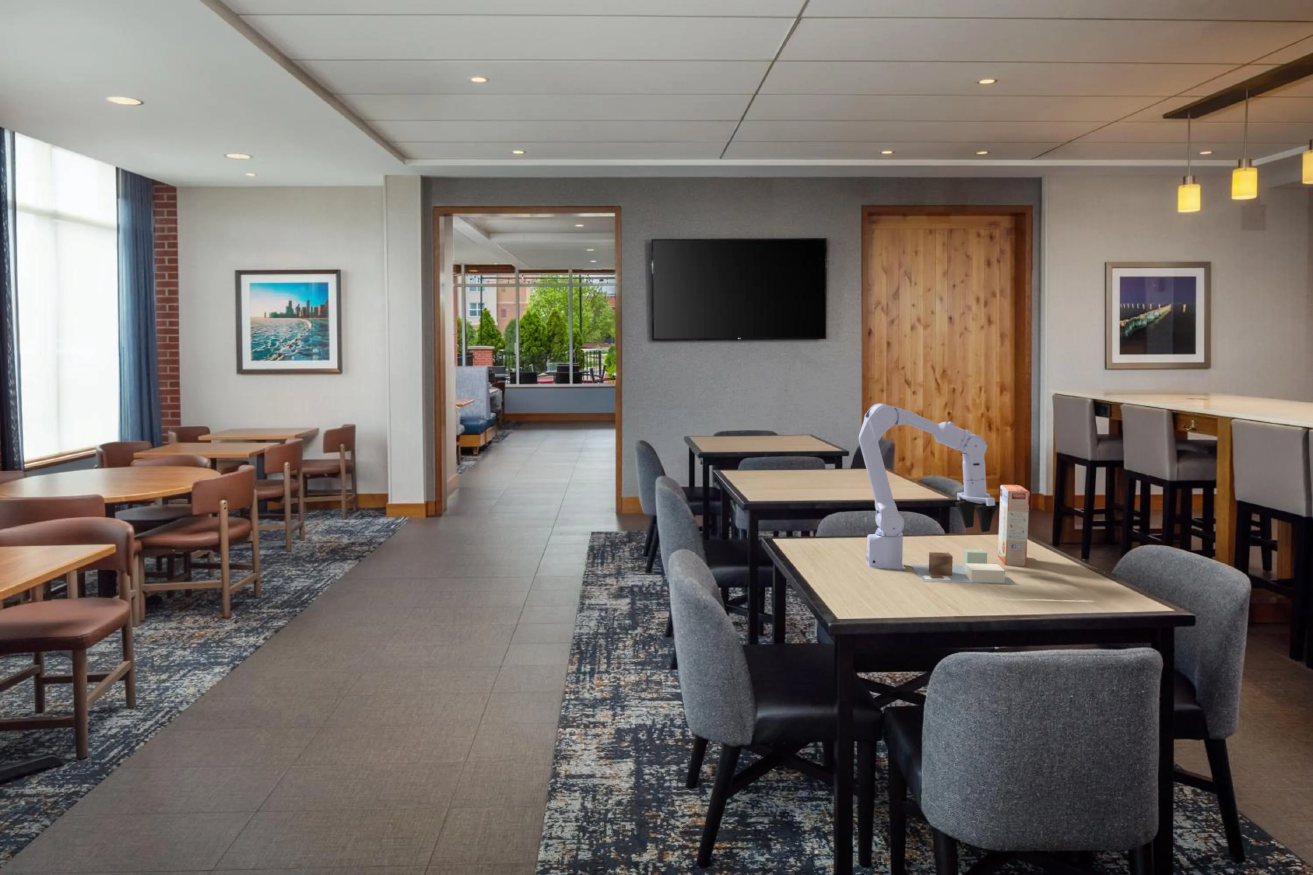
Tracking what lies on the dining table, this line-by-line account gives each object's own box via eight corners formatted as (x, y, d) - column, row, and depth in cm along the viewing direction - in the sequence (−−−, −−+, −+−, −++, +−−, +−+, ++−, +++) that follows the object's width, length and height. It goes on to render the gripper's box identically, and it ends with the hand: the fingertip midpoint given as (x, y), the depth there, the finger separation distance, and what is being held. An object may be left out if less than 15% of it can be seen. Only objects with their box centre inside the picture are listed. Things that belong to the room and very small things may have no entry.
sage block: (967, 571, 258) (967, 552, 257) (962, 567, 263) (963, 548, 262) (986, 571, 257) (987, 552, 257) (982, 567, 262) (982, 549, 262)
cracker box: (1027, 568, 264) (1030, 490, 263) (1004, 567, 266) (1006, 490, 264) (1019, 557, 278) (1021, 484, 276) (997, 556, 279) (999, 483, 278)
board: (923, 583, 246) (923, 579, 246) (910, 566, 266) (910, 563, 266) (1013, 585, 244) (1014, 581, 244) (994, 568, 263) (994, 565, 263)
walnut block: (932, 575, 253) (932, 556, 252) (928, 571, 258) (929, 552, 257) (952, 575, 252) (952, 556, 252) (948, 571, 257) (948, 552, 257)
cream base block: (971, 581, 246) (972, 569, 245) (964, 574, 253) (965, 563, 253) (1004, 582, 245) (1005, 570, 245) (996, 575, 253) (997, 563, 252)
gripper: (1004, 480, 256) (1006, 531, 257) (972, 475, 270) (974, 523, 271) (980, 482, 254) (983, 534, 255) (949, 477, 268) (952, 526, 269)
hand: (977, 529), depth 263 cm, fingers open, 7 cm apart
